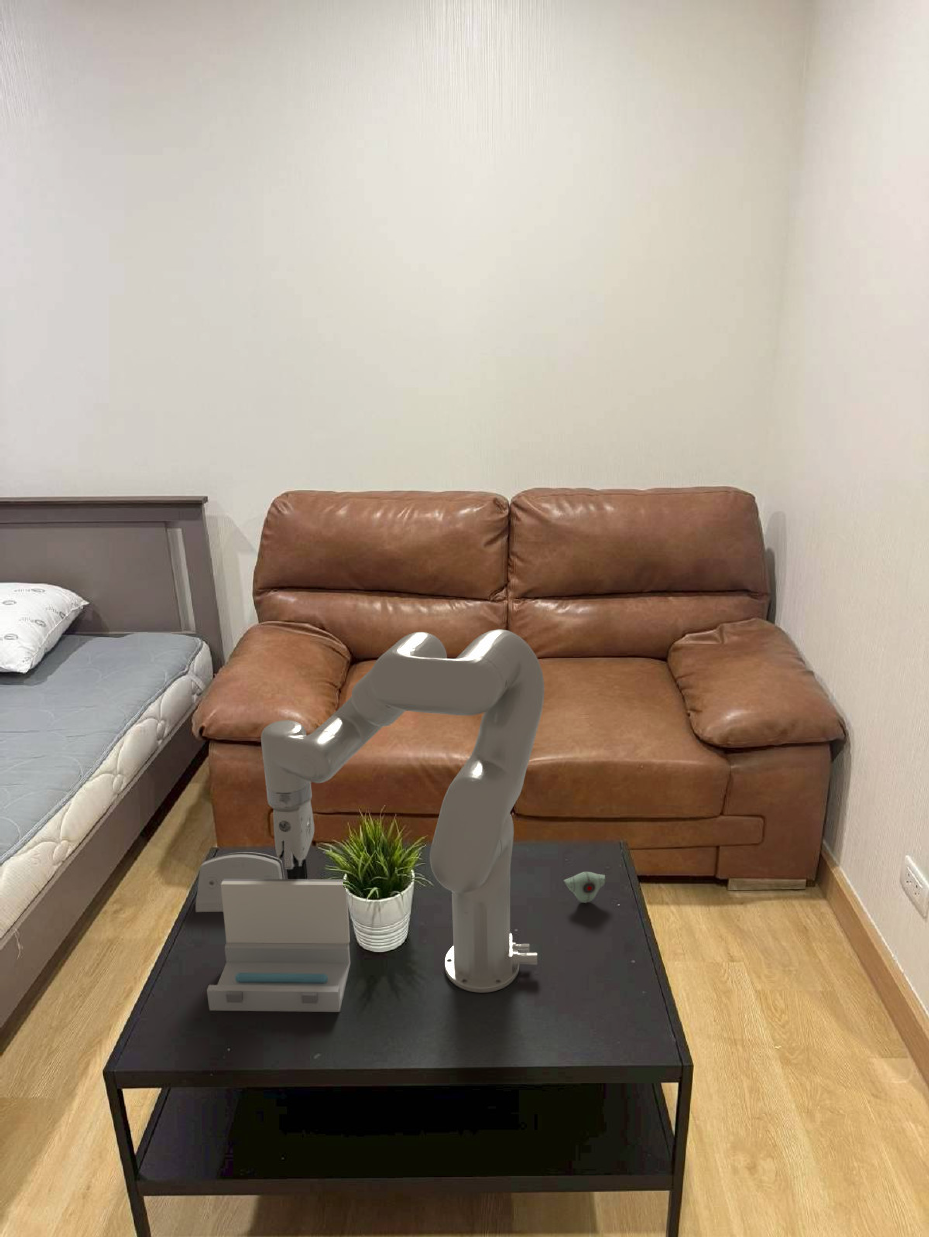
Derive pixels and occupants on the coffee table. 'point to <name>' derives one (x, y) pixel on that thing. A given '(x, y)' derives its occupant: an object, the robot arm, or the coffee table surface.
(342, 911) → the cover
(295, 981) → the teal rod
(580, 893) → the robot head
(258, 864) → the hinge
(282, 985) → the grey hinged box
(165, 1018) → the coffee table surface
